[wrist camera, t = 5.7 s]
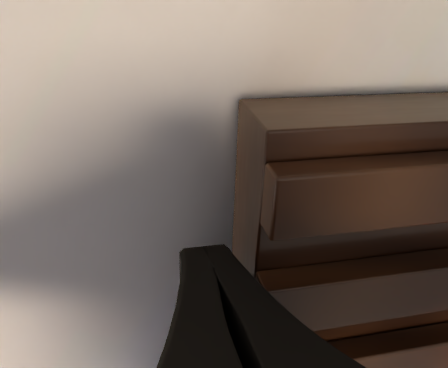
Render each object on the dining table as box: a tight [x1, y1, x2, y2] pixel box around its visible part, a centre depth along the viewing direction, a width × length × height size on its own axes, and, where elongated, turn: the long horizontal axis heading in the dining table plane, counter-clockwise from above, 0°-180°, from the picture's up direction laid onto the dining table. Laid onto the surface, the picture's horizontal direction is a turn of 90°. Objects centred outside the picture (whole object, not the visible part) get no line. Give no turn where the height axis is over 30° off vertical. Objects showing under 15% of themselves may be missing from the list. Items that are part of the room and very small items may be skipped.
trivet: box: [232, 92, 448, 368], centre depth 12 cm, size 9×9×3 cm
